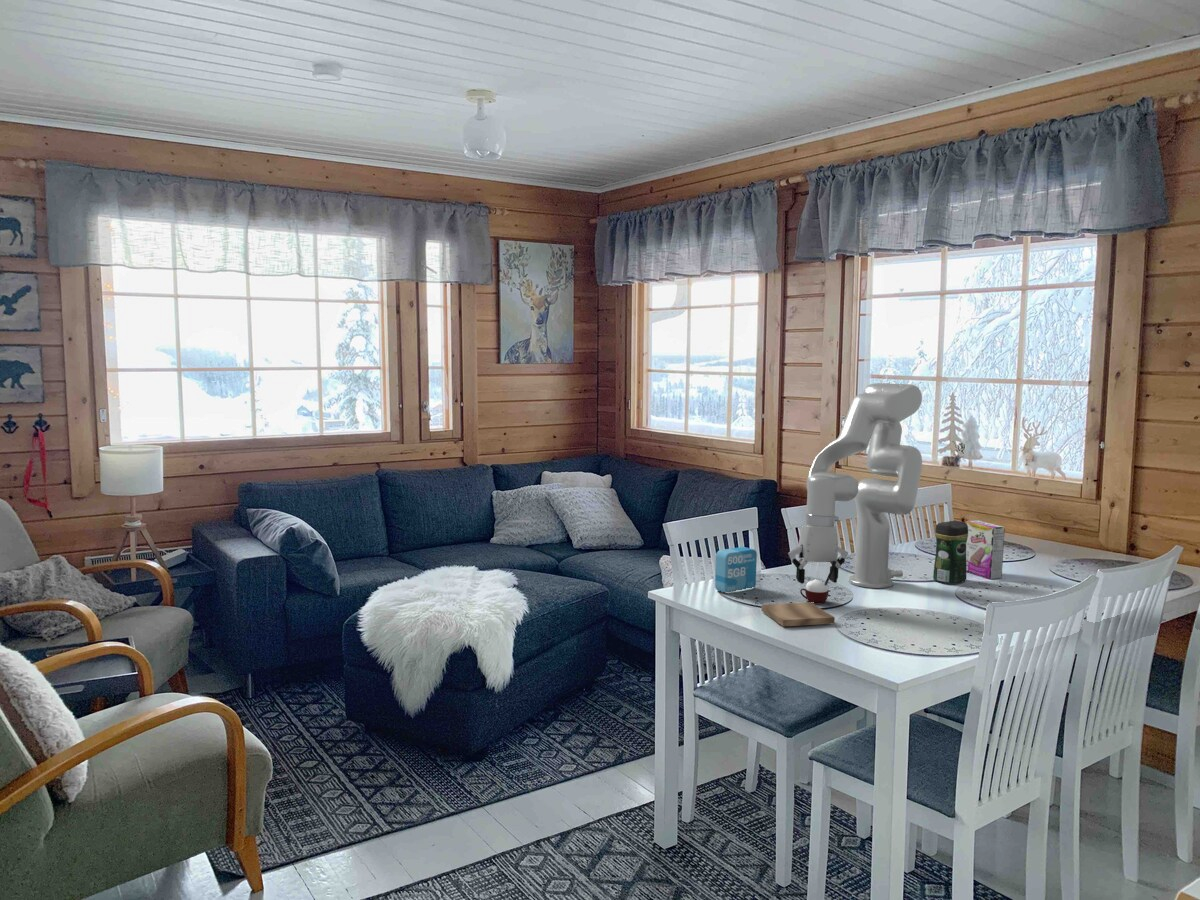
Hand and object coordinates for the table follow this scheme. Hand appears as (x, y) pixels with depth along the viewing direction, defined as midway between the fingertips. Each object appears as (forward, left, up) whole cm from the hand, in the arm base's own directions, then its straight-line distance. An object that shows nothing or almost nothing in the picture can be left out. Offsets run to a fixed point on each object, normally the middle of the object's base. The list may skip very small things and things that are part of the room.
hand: (816, 581), depth 249 cm
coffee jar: (-51, -14, -6) cm, 53 cm away
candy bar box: (-66, -19, -6) cm, 69 cm away
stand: (+11, +13, -6) cm, 18 cm away
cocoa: (-1, 0, -6) cm, 6 cm away
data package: (+17, -16, -6) cm, 25 cm away
